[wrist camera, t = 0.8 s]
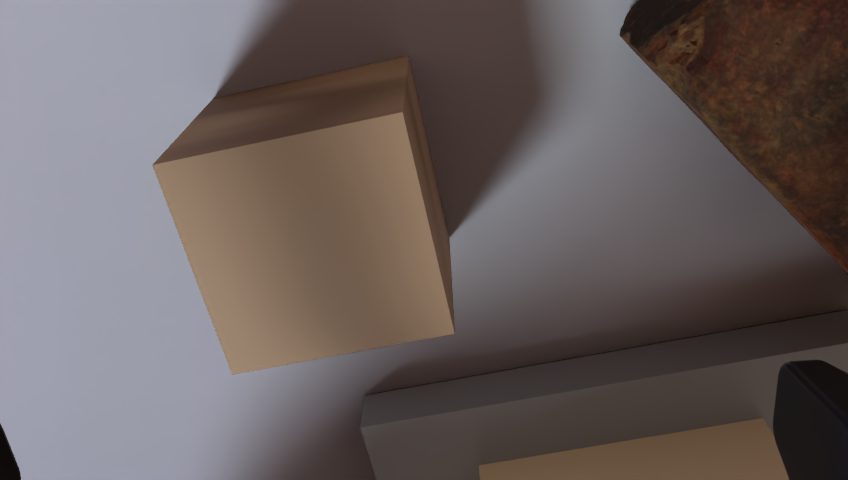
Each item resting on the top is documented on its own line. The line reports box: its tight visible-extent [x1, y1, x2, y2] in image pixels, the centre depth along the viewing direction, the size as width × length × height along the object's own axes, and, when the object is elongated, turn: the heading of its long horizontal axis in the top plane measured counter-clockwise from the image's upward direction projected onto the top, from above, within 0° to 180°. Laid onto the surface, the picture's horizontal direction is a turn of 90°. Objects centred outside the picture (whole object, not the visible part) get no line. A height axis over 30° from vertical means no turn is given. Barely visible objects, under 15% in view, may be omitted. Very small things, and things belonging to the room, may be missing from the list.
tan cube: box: [153, 56, 455, 375], centre depth 19 cm, size 5×5×5 cm
